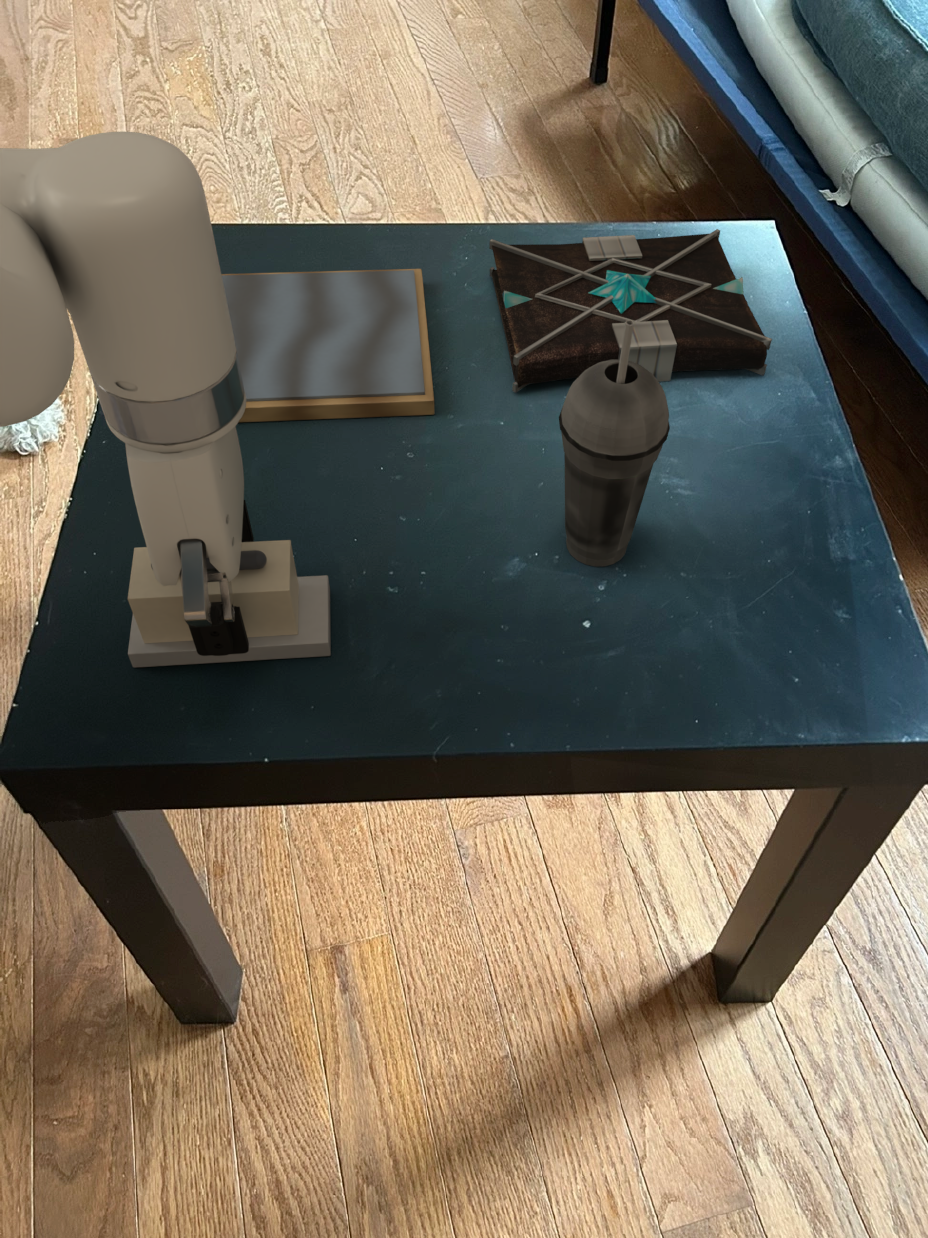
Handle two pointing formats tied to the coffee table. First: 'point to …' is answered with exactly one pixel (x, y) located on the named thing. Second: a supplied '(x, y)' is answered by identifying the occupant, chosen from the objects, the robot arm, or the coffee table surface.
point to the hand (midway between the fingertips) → (227, 596)
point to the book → (624, 307)
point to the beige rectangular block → (263, 589)
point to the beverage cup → (609, 453)
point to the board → (331, 344)
